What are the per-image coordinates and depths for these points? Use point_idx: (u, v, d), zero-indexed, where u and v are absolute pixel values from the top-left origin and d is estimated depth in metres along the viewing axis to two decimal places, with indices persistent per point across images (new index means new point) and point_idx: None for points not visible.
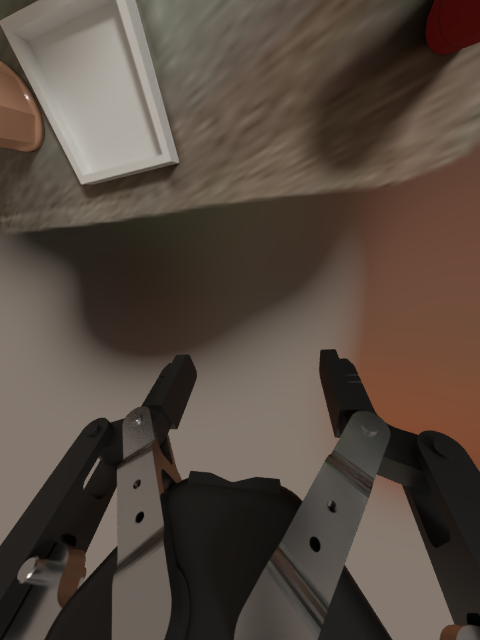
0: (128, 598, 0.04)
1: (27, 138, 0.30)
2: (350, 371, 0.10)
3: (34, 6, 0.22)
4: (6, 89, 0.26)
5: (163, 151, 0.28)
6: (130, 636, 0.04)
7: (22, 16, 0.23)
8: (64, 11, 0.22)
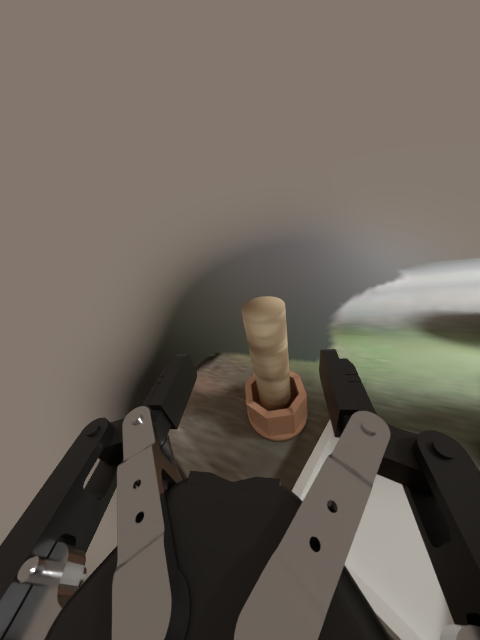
0: (128, 598, 0.04)
1: (272, 432, 0.29)
2: (350, 371, 0.10)
3: None
4: (301, 413, 0.30)
5: None
6: (130, 636, 0.04)
7: None
8: None
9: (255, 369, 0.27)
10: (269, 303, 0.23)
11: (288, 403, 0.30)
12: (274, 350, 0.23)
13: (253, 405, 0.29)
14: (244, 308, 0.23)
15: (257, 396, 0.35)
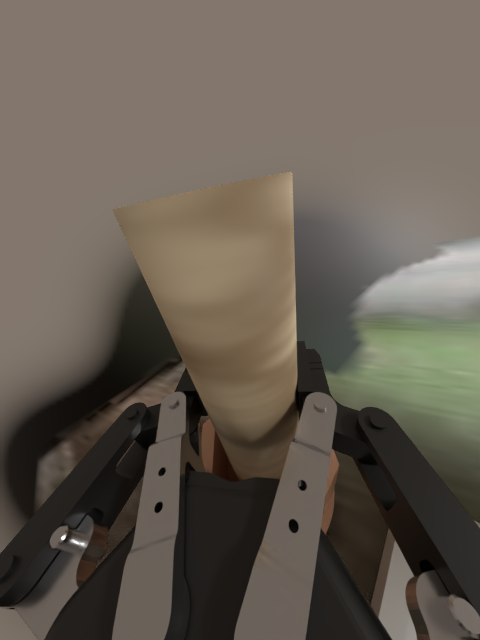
0: (128, 598, 0.04)
1: None
2: (315, 360, 0.11)
3: None
4: (324, 506, 0.13)
5: None
6: (130, 636, 0.04)
7: None
8: None
9: (206, 410, 0.10)
10: None
11: None
12: (251, 362, 0.06)
13: None
14: None
15: None
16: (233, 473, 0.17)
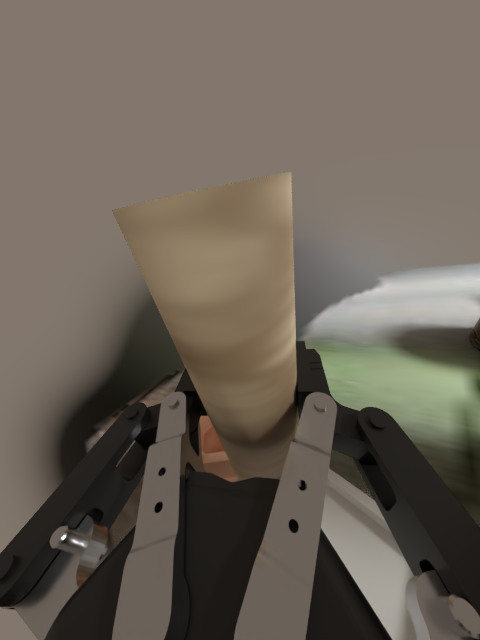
0: (128, 598, 0.04)
1: None
2: (315, 360, 0.11)
3: (330, 471, 0.23)
4: None
5: None
6: (130, 636, 0.04)
7: None
8: (356, 501, 0.21)
9: None
10: None
11: None
12: (250, 361, 0.06)
13: None
14: None
15: (206, 427, 0.31)
16: (206, 443, 0.30)
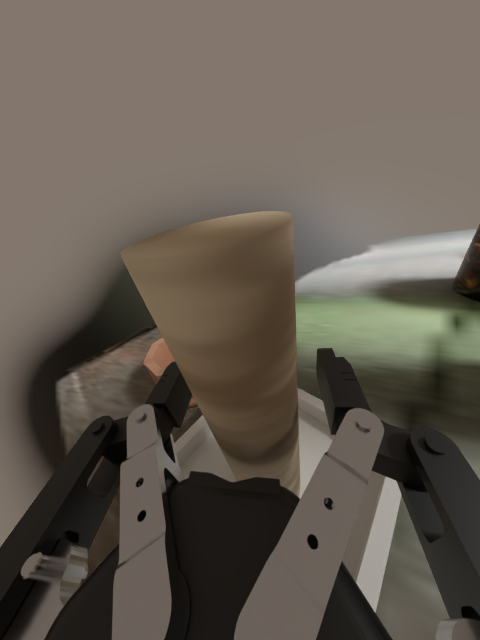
0: (128, 598, 0.04)
1: None
2: (346, 369, 0.10)
3: None
4: None
5: None
6: (130, 636, 0.04)
7: None
8: (311, 407, 0.20)
9: (209, 427, 0.10)
10: (235, 221, 0.06)
11: (295, 486, 0.14)
12: (253, 391, 0.07)
13: (149, 364, 0.25)
14: (145, 241, 0.06)
15: (174, 361, 0.30)
16: None
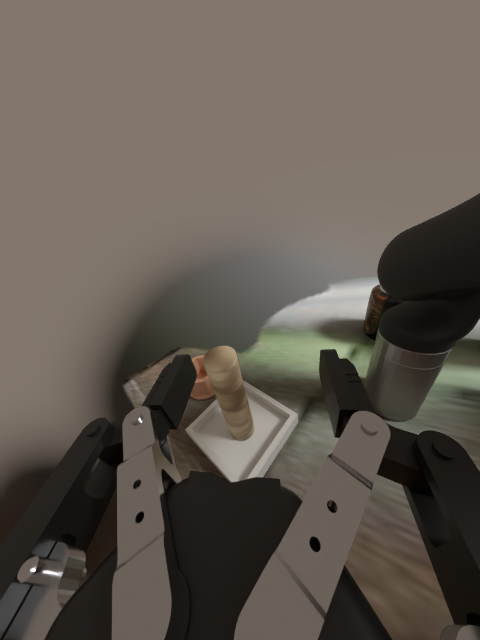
0: (128, 598, 0.04)
1: (196, 393, 0.48)
2: (350, 371, 0.10)
3: (254, 388, 0.45)
4: None
5: None
6: (130, 636, 0.04)
7: (247, 384, 0.46)
8: (263, 399, 0.43)
9: (218, 401, 0.33)
10: (225, 353, 0.30)
11: (248, 426, 0.37)
12: (228, 390, 0.30)
13: None
14: (205, 357, 0.30)
15: None
16: None
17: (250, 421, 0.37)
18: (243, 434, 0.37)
